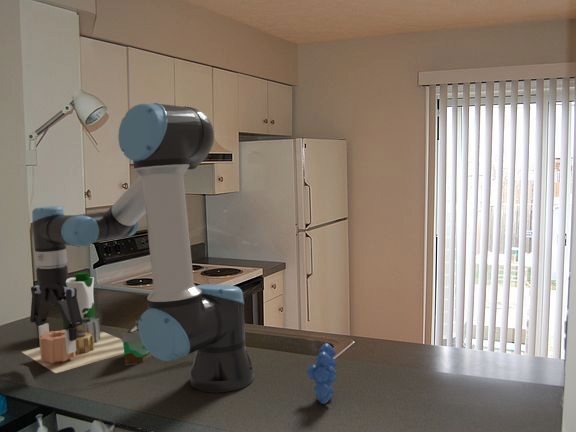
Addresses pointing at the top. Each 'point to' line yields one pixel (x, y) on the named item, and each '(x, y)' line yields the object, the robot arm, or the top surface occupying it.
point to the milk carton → (83, 294)
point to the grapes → (324, 373)
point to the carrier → (83, 352)
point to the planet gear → (54, 347)
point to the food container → (134, 347)
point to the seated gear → (90, 327)
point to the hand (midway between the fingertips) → (58, 350)
